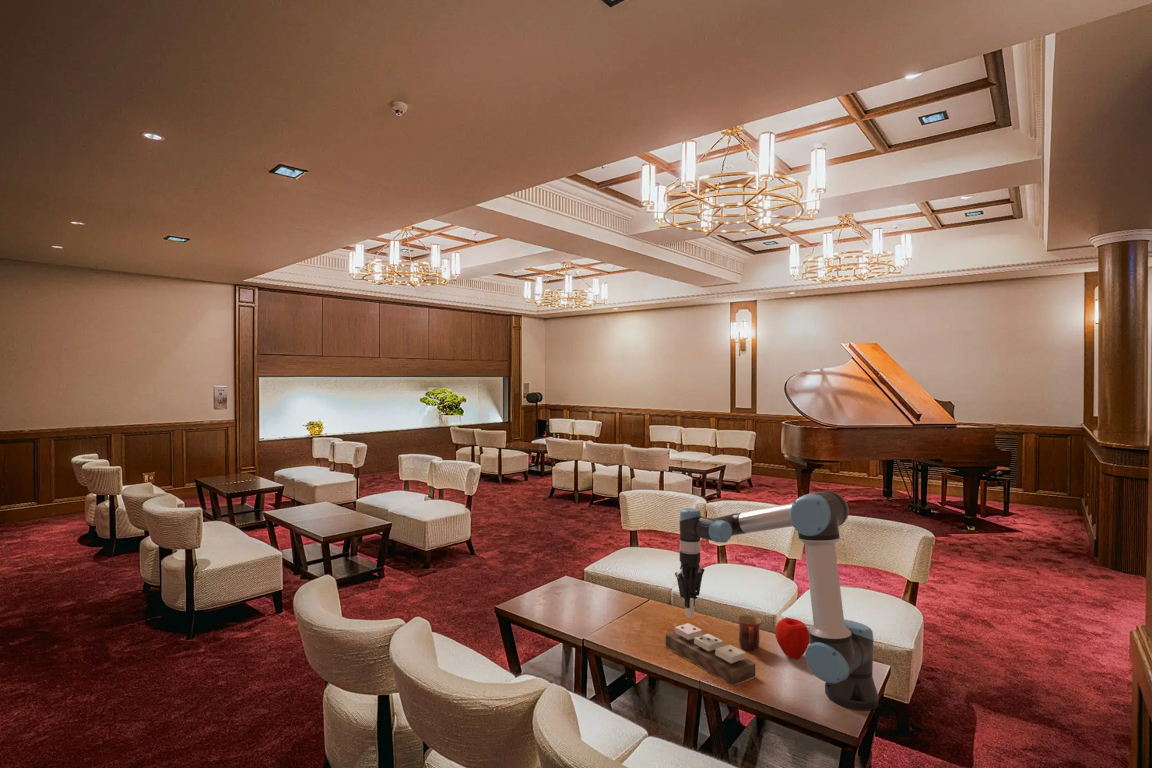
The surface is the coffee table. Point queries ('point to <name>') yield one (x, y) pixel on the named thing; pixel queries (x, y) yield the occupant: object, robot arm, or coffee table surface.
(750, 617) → the mug
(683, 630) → the tile
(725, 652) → the tile
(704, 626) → the coffee table surface
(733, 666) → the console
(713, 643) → the three-pip tile
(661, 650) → the coffee table surface
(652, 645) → the coffee table surface
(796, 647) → the apple
